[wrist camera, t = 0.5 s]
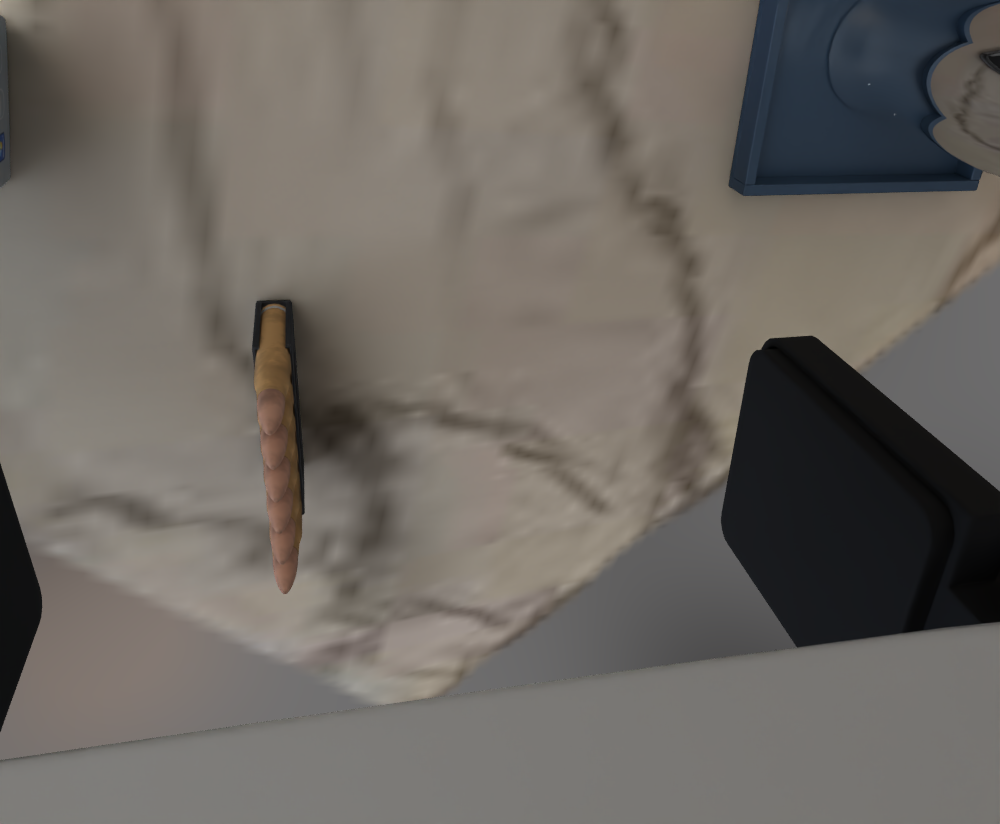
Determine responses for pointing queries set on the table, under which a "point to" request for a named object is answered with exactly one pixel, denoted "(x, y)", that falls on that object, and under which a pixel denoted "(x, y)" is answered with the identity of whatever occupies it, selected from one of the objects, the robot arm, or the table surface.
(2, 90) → the hard drive box
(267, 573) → the table surface
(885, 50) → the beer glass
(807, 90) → the tray
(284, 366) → the ammunition clip
